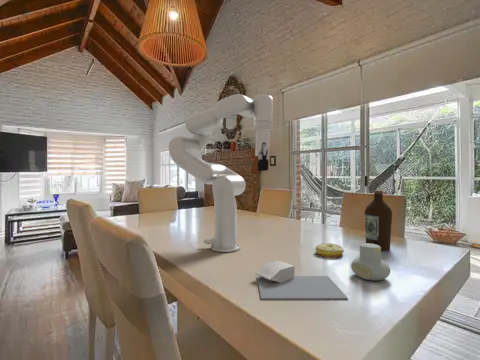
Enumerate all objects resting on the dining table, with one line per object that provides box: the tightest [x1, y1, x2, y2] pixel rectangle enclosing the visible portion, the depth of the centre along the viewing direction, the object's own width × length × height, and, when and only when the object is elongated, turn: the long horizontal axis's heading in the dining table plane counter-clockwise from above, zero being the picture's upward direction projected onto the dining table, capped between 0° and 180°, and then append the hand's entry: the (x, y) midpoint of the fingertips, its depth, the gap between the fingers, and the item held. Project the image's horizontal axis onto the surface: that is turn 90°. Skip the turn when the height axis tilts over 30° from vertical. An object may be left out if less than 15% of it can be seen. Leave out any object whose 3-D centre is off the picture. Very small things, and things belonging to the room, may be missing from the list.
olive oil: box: [364, 190, 393, 252], centre depth 118 cm, size 11×11×25 cm
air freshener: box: [350, 242, 391, 282], centre depth 84 cm, size 11×8×10 cm
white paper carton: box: [254, 260, 295, 283], centre depth 82 cm, size 4×7×10 cm
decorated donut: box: [315, 242, 345, 258], centre depth 109 cm, size 10×11×4 cm
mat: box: [256, 275, 349, 301], centre depth 76 cm, size 22×15×1 cm
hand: (262, 170), depth 108 cm, fingers open, 9 cm apart
